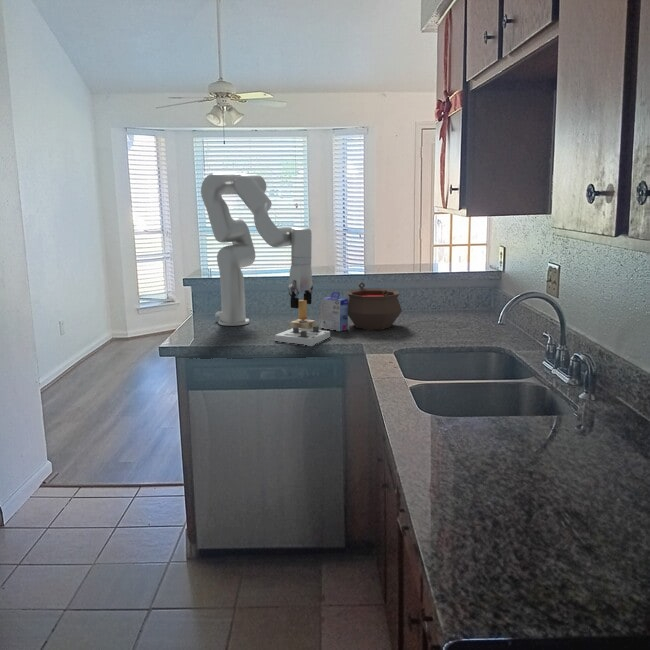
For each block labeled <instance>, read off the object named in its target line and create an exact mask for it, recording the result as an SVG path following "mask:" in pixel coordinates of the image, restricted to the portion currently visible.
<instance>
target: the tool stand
mask: <svg viewBox="0 0 650 650" xmlns="http://www.w3.org/2000/svg"><path fill="white" fill-rule="evenodd" d="M314 326H316V320H315V319H314V320H313V319H305V322H301V320H300V319H299V318H297V319H295V320H291V321H290V322H289V328H290V329H292V328H293V327H299V328H304V329H313V327H314ZM290 329H289V330H290Z"/></svg>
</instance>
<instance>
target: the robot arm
mask: <svg viewBox="0 0 650 650" xmlns="http://www.w3.org/2000/svg"><path fill="white" fill-rule="evenodd" d="M266 191H267V182H266V180H265V179H264V177H263V176H261V175H259V174H256V173H254V174H253V173H252V174H251V173H250V174H248V173H240V172H239V173H235V172H214V173H213V172H212V173H210V174H208V175H207V176H206V177H204V179H203V181H202V182H201V187H200V195H201V200H202V201H203V204H204V207H205V209H206V212H207V215H208V219H209V223H210V227H211V229H212V234H213V237H214V239H215V241H217V242H219V243H222V244H225V243H226V244H227V243H232V244H229V245H226V246H222V247H221V248H220V249H219V250H218V252H217V255H216V260H217V261H216V262H217V266H218V271H219V283H220V300H221V311H216V312H215V314H214V316H215V317H217V318H219V319H218V322H217V323H218V325H221V326H226V327H232V326H233V327H234V326H236V327H238V326H245V325H247V324H250V318H247V317H246V296H245V294H246V293H245V292H246V291H245V276H244V275H243V274H244V273H243V272H242V268H246V267H250V266H251V265H253V264H254V263H255V261H256V251H255V246H254V243H253V239H252V235H251V232H250V229H249V226H248V224H247V223H246V222H245V221H244V220H243V219H241V218H238V217H232V215H231V213H230V210H229V206H228V204H227V202H226V201H225V199H223V197H222V196H225V195H226V196H227V195H231V196H233V195H236V196H237V195H238V197H239V198H240V199H241V200H242V202H243V203H244V205H245V206H246V207H247V209H248V210H249V211H250V212H251V213H252V215H253V222H254V225H255V229H256V231H257V232H258V234H259V236H260V237H261V238H262V239H263V240H264V242H265V243H266V244H267V245H268V246H270V247H271V248H275V249H276V248H283V247H289V246H290V247H291V249H290V250H291V251H290V252H291V253H290V254H291V255H290V256H291V258H290V259H291V264H290V269H289V277H288V278H289V279H288V287H287V289H288V294H289V298H290V308H291V309H298V308H299V300H300V298H299V295H300V293H303V292H304V293H303V300H307V305H312V294H313V290H314V289H313V288H314V279H313V272H312V239H313V238H312V235H313V234H312V229H311V228H309V227H295V226H290V225H284V226H277V225H276V224H275V223H274V222H273V220H272V218H270V216H269V211H270V210H271V208H272V200H271V199H270V198H269V197H268V195H267V194H266Z"/></svg>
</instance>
